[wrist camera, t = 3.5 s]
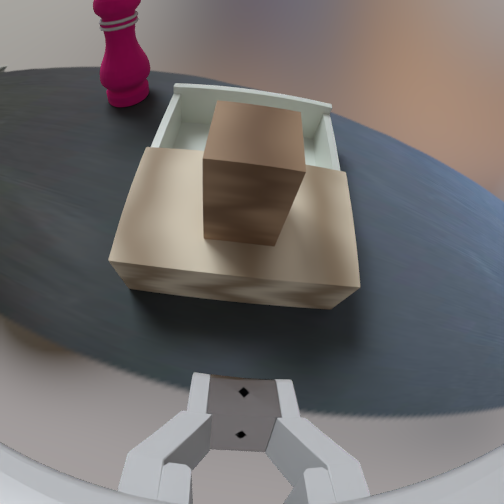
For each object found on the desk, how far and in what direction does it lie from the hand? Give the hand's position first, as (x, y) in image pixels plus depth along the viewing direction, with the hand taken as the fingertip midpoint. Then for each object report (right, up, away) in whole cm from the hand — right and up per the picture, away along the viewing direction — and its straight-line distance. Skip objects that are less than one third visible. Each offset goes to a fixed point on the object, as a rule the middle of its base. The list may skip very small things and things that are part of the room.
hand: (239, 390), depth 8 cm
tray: (0, +15, +24) cm, 28 cm away
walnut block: (0, +7, +13) cm, 15 cm away
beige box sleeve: (-1, +5, +19) cm, 20 cm away
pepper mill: (-18, +27, +28) cm, 42 cm away
